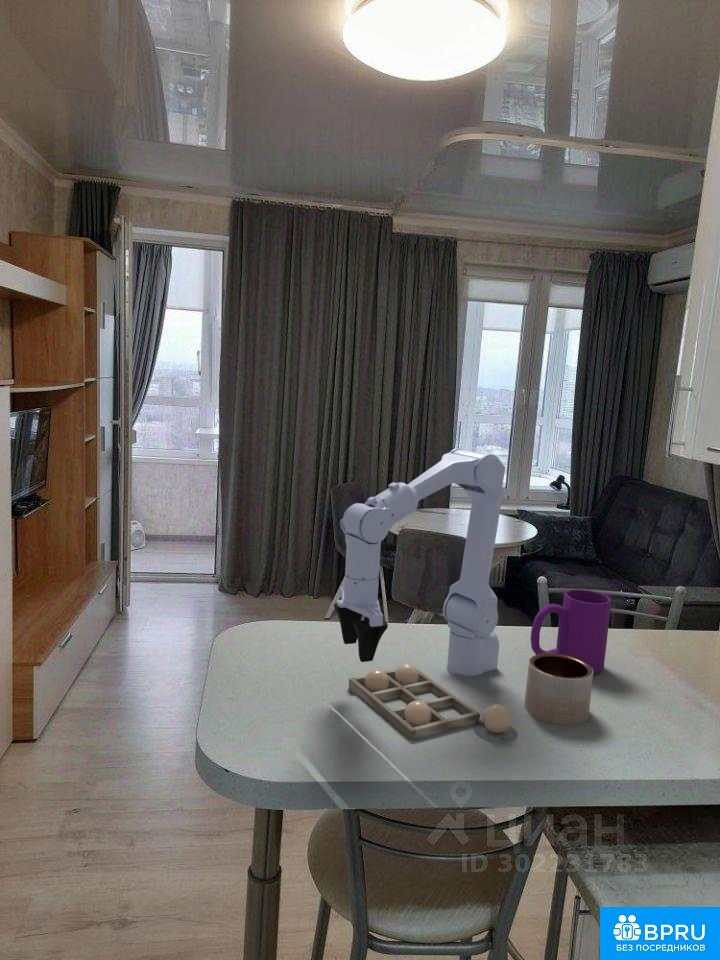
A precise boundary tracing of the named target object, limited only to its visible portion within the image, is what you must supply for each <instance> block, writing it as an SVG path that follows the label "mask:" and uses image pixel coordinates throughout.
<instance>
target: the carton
mask: <svg viewBox="0 0 720 960" xmlns="http://www.w3.org/2000/svg"><path fill="white" fill-rule="evenodd" d="M396 669H397V668H394V669H389V670H385V671H384V670H383V671H384V672H385V673H386V674H387V676H388V678H389V686H388V689H386V690H382V691H377V692H372V693H371V692H370V691H369V690H367V689H366V687H365V684H364V681H365V677H366V675H367V674H364V675H360V676H355V677H354V676H353V677H351V678H350V677H349V678H348V690H349V691H350V692H351V693H352V694H354V696H358V697H360V698H362V699H363V700H364V701H365V702H366V703H367V704H369V706H371V708H373V709H374V710H375V711H376V712H378V713H379V714H380V715H381V716H382V717H383V718H385V719H386V721H387V722H389V723H390V724H392V725H393V726H394V727H395V728H396V729H398V730H399V732H401V733H402V734H403V735H404V736H406V738H407V739H409V740H410V741H413V740H417V739H421V738H426V737H429V736H433V735H436V734H440V733H444V732H448V731H452V730H455V729H459V728H463V727H467V726H470V725H473V724H474V725H475V724H477V723H479V722H480V720H481V713H480V712H479V711H477V710H476V709H475V708H473V707H472V706H470V705H469V704H467V703H466V702H465V701H463V700H462V699H460V698H459V697H457V696H456V695H455V694H453V693H452V692H450V691H449V690H448V689H446V688H444V687H443V686H442V685H440V684H439V683H438V682H436V681H435V680H433V679H432V678H431V677H428V675H426V674H424V673H423V672H422V671H420V670H419V669H417V670H418V673H419V679H418V682H417V683H414V684H409V685H405V686H402V685H400V684H399V683H398V682H396V680H395V671H396ZM429 691H431V692H432V693H433V694H434V695H436V696H437V697H438V698H437V697H436V698H434V699H431V700H430V699H429V700H424V702H425V703H426V704H427V705H428V706H429V708H430V710H431V720H430V723H429V724H425V725H421V726H417V727H412V726H411V725H409V724H408V723H407V722H406V721H405V720H404V719H405V717H404V711H405V708H406V706H407V705H404V706H401V707H396V708H390V707H389V706H388V705H387V704H385V703H384V702H385V701H388V700H394V699H398V698H401V699H402V700H403V701H405V703H407V704H409V703H410V702H412V701H416V700H419V701H422V700H421V699H420V698H419V697H417V696H416V694H420V693H425V692H429ZM449 707H450V708H451V707H453V708H454V709H455V710H456V711H458V712H460V713H461V715H458V716H454V717H448V718H445V717H444V716H442V715H441V714H440V713H438V712H437V710H441V709H442V710H443V709H445V708H449Z"/></svg>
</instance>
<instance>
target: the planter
mask: <svg viewBox="0 0 720 960" xmlns="http://www.w3.org/2000/svg"><path fill="white" fill-rule="evenodd" d="M593 679H594V674H593V669H592V667H591V666H590V665H588V664H587V663H586V662H584V661H582V660H580V659H577V658H574V657H571V656H567V655H563V654H555V653H543V654H538V655H536V654H535V655H533V656H531V657H530V658H529V660H528V667H527V677H526V684H525V694H524V700H523V701H524V702H523V706H524V709H525V710H526V711H527V712H528V713H529V715H532V717H535V718H537V719H539V720H540V721H544V722H547V723H550V724H554V725H561V726H575V725H576V726H577V725H581V724H583V723H586V722H587V720H588V719H589V717H590V710H591V709H590V708H591V697H592V690H593V689H592V687H593Z"/></svg>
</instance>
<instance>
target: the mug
mask: <svg viewBox="0 0 720 960" xmlns="http://www.w3.org/2000/svg"><path fill="white" fill-rule="evenodd" d="M611 609H612V600H611V598H610V597H609V596H607V595H605V594H603V593H601V592H597V591H593V590H589V589H587V590H586V589H585V590H584V589H570V590H567V591H566V592H564V593H563V603H562V605H560V604H556V603H550V604H545V605H544V606H543V607H541V609H539V611H537V614H536V615H535V617H534V620H533V622H532V626H531V629H530V631H531V632H530V644H531V646H530V647H531V650H532V651H533V653H534V654H535V655H538V654H543V653H555V654H563V655H567V656H571V657H574V658H577V659H580V660H582V661H584V662H586V663H587V664H588V665H590V666H591V667H592V669H593V675H597V674H599V673H601V672H602V671H604V669H605V661H606V653H607V651H606V650H607V645H608V644H607V643H608V635H609V625H610V618H611V617H610V616H611ZM550 613H555V614H557V615H558V616H559V617H558V627H557V639H556V647H555V648H553V649H549V650H545V649H542V648H541V646H540V645H541V644H540V637H541V636H540V635H541V629H542V626H543V622H544V620H545V618H546V617H547V616H548V615H549V614H550Z"/></svg>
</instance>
